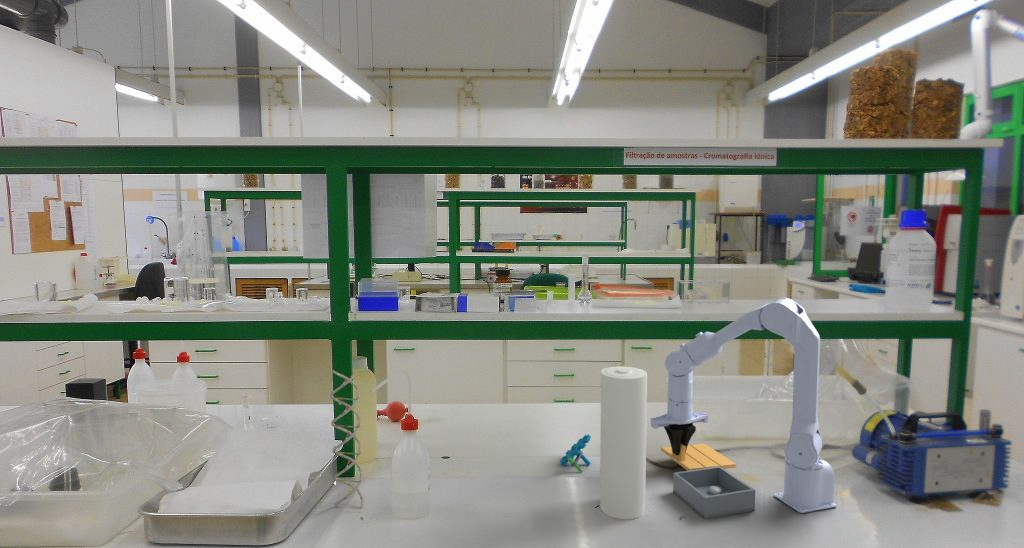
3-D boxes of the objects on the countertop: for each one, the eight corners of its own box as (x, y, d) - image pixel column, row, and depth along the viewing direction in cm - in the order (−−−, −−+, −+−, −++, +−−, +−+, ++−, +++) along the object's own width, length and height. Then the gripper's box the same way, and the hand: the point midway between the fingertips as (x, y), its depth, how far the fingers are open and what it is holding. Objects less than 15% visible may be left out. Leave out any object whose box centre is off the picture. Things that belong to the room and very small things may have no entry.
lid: (704, 449, 147) (705, 430, 147) (735, 470, 135) (737, 449, 135) (660, 453, 144) (661, 433, 143) (689, 475, 132) (690, 454, 131)
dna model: (370, 501, 125) (365, 367, 122) (356, 516, 119) (351, 375, 115) (342, 498, 126) (336, 366, 123) (327, 513, 120) (321, 374, 117)
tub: (719, 484, 131) (719, 466, 131) (754, 510, 120) (755, 490, 119) (673, 492, 128) (673, 472, 127) (704, 519, 116) (705, 498, 116)
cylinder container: (633, 494, 127) (635, 362, 124) (652, 516, 118) (655, 374, 115) (593, 499, 125) (594, 365, 122) (610, 521, 116) (611, 377, 113)
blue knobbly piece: (566, 446, 149) (591, 426, 145) (582, 464, 149) (608, 443, 144) (551, 469, 139) (578, 448, 135) (568, 487, 139) (596, 466, 134)
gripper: (696, 391, 142) (695, 443, 144) (644, 396, 138) (643, 450, 140) (714, 399, 136) (712, 454, 137) (659, 405, 132) (658, 462, 133)
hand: (678, 453), depth 138 cm, fingers closed on lid
